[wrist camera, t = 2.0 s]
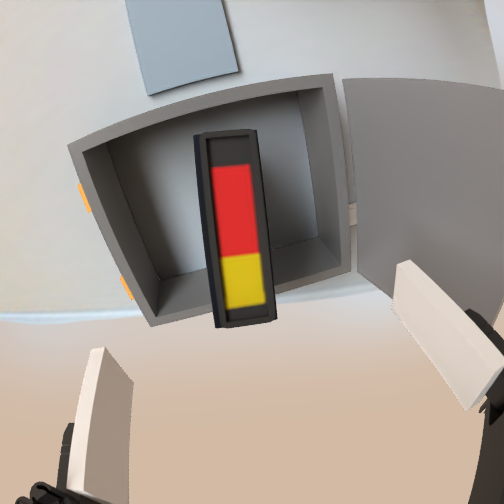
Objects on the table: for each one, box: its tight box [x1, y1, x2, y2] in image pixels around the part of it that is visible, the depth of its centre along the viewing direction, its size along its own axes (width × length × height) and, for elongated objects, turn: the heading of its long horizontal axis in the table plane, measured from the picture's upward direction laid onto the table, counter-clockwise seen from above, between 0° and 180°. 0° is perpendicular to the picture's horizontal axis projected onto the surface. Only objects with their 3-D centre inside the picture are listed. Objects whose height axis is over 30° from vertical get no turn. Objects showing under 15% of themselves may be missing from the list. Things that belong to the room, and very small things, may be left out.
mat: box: [125, 0, 238, 96], centre depth 18 cm, size 15×8×1 cm, turn 12°
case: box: [67, 73, 357, 327], centre depth 21 cm, size 18×25×16 cm
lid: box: [342, 78, 504, 327], centre depth 16 cm, size 17×14×1 cm
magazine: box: [193, 129, 277, 328], centre depth 23 cm, size 4×13×15 cm, turn 2°
